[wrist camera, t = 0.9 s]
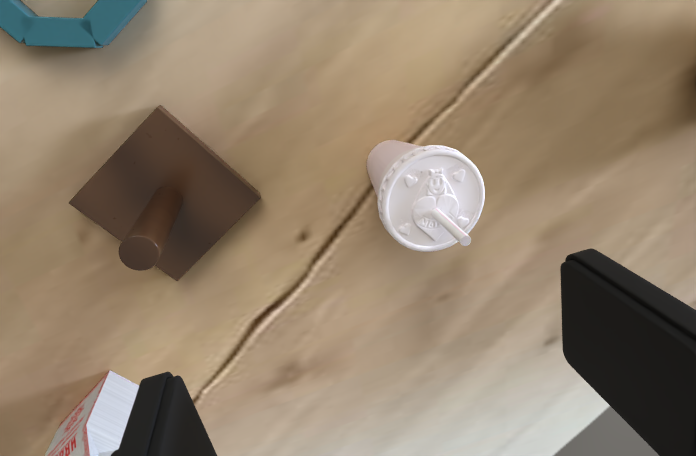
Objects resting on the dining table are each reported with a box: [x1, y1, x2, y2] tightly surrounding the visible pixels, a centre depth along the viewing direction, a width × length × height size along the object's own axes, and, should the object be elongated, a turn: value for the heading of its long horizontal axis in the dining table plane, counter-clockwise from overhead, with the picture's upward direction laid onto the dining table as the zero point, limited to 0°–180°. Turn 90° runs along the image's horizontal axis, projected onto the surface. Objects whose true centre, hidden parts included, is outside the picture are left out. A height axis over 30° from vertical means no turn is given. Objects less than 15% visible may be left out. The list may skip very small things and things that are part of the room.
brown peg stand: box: [69, 105, 260, 281], centre depth 29 cm, size 9×9×10 cm
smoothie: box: [367, 140, 485, 252], centre depth 29 cm, size 6×6×14 cm
